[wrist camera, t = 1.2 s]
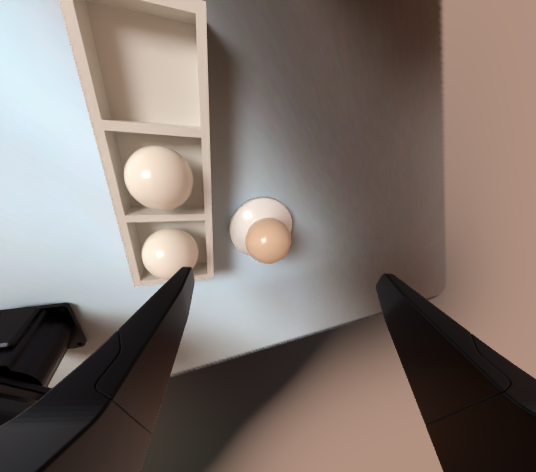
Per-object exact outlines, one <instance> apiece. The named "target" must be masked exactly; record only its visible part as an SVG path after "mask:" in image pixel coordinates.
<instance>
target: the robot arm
mask: <svg viewBox="0 0 536 472" xmlns="http://www.w3.org/2000/svg"><path fill="white" fill-rule="evenodd" d="M193 288H194V274H193V269H192V267H181V268H180V269H179V270H178V271H177V272H176V273H175V274H174V275H173V276H172V277H171V278H170V279H169V280H168V281H167V282H166V283H165V284H164V285H163V286H162V287H161V288H160V289H159V290H158V291H157V292H156V293H155V294H154V295H153V296H152V297H151V298H150V299H149V300H148V301H147V302H146V303H145V304H144V305H143V306H142V307H141V308H140V309H139V310H138V311H137V312H136V313H135V314H134V315H133V316H131V317H130V318H129V319H128V320H127V321H126V322H125V323H124V324H123V325H122V326H121V327H120V328H119V331H116V332H115V333H114V334H113V335H112V336H111V337H110V338H109V339H108V340H107V341H106V342H105V343H104V344H103V345H102V346H101V347H99V348H98V349H97V350H96V351H95V352H94V353H93V354H92V355H91V356H90V357H88V358H87V359H86V360H85V361H84V362H83V363H82V364H80V365H79V366H78V367H77V368H76V369H75V370H73V371H72V372H71V373H70V374H69V375H67V376H66V377H65V378H64V379H63V380H62V381H60V382H59V383H58V384H57V385H56V386H54V387H53V388H49V387H48V385H49V383H50V381H51V379H52V377H53V375H54V374H55V372H56V370H57V368H58V366H59V364H60V362H61V361H62V359H63V357H64V355H65V353H66V351H67V349H71V348H77V347H82V346H84V345H85V344H86V342H87V340H86V338H85V336H84V334H83V332H82V329H81V327H80V325H79V323H78V321H77V319H76V317H75V315H74V313H73V311H72V309H71V307H70V305H69V304H66V303H61V304H52V305H43V306H35V307H26V308H17V309H9V310H0V472H141V468H142V465H143V462H144V459H145V455H146V452H147V449H148V446H149V442H150V439H151V436H152V434H151V433H152V432H153V429H154V426H155V422H156V419H157V416H158V413H159V409H160V406H161V403H162V400H163V396H164V393H165V390H166V386H167V384H168V380H169V377H170V374H171V371H172V367H173V364H174V361H175V358H176V354H177V351H178V348H179V345H180V341H181V338H182V335H183V332H184V328H185V325H186V322H187V318H188V315H189V310H190V304H191V299H192V293H193ZM376 291H377V294H378V298H379V302H380V305H381V309H382V313H383V316H384V319H385V322H386V324H387V327H388V330H389V332H390V335H391V337H392V340H393V342H394V345H395V348H396V350H397V353H398V355H399V358H400V361H401V363H402V366H403V368H404V371H405V373H406V376H407V378H408V381H409V383H410V386H411V389H412V391H413V394H414V396H415V399H416V402H417V404H418V407H419V409H420V412H421V415H422V417H423V420H424V422H425V424H426V428H427V430H428V433H429V435H430V438H431V441H432V443H433V446H434V448H435V451H436V454H437V456H438V459H439V461H440V464H441V466H442V469H443V472H536V379H535V378H533V377H532V376H530V375H529V374H527V373H526V372H524V371H523V370H522V369H520V368H518V367H517V366H516V365H514V364H513V363H511V362H510V361H509V360H507V359H506V358H504V357H503V356H501V355H500V354H498V353H497V352H496V351H494V350H493V349H492V348H490V347H489V346H487V345H486V344H485V343H483V342H482V341H481V340H479V339H478V338H477V337H475V336H474V335H473V334H471V333H470V332H469V331H467V330H466V329H465V328H464V327H462V326H461V325H460V324H458V323H457V322H456V321H454V320H453V319H452V318H450V317H449V316H448V315H446V314H445V313H444V312H442V311H441V310H439V309H438V308H437V307H436V306H434V305H433V304H432V303H430V302H429V301H428V300H426V299H425V298H424V297H423V296H421V295H420V294H419V293H417V292H416V291H415V290H413V289H412V288H411V287H409V286H408V285H407V284H405V283H404V282H403V281H401V280H400V279H399V278H397V277H396V276H395V275H393V274H383V275H382V276H381V278H380V279H379V281H378V282H377V284H376ZM63 308H64V309H63Z"/></svg>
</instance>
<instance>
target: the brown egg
mask: <svg viewBox="0 0 536 472" xmlns="http://www.w3.org/2000/svg"><path fill="white" fill-rule="evenodd" d="M245 244H246V248H247V250H248V252H249V254H250V255H251V256H252V257H253V258H254V259H255V260H257V261H259V262H261V263H267V264H271V263H275V262H278V261H280V260H281V259H283V258H284V257H285V256H286V255H287V253H288V251H289V249H290V246H291V235H290V232H289V230H288V228H287V227H286V225H285V224H284V223H282V222H281V221H279V220H277V219H274V218H262V219H259V220H257V221H256V222H254V223H253V224H252V225H251V226H250V227H249V229H248V231H247V233H246V238H245Z"/></svg>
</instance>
